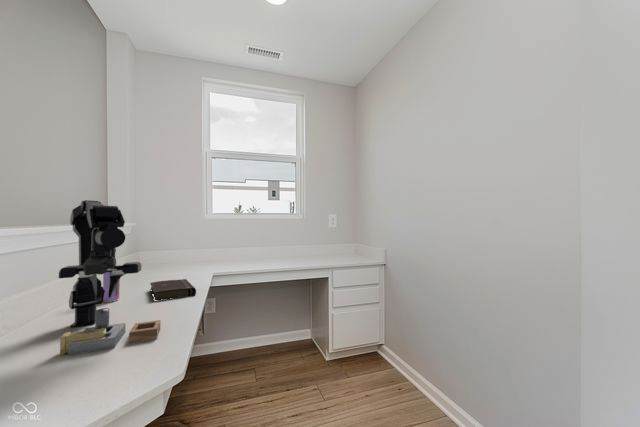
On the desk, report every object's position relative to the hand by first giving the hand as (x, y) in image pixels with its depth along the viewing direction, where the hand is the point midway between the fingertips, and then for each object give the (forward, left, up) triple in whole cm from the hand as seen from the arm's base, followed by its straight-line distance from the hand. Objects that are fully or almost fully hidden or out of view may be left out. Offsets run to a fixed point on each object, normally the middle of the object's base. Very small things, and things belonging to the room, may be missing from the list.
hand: (102, 298), depth 81 cm
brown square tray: (+2, +12, -12) cm, 17 cm away
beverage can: (-50, -10, -13) cm, 53 cm away
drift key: (+5, -2, -12) cm, 14 cm away
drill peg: (0, 0, -12) cm, 13 cm away
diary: (-54, +14, -13) cm, 57 cm away
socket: (+2, 0, -12) cm, 13 cm away
